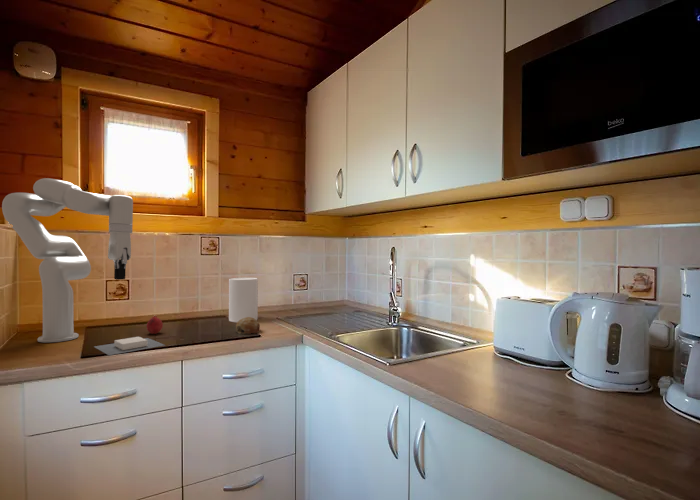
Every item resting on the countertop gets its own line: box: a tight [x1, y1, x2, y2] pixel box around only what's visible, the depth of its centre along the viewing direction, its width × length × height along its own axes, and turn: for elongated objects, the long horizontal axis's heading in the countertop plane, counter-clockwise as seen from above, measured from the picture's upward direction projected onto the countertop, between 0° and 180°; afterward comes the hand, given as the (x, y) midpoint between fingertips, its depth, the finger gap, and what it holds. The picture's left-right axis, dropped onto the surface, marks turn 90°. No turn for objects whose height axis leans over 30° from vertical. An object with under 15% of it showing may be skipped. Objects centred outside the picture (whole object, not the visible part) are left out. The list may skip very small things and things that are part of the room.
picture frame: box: [114, 336, 148, 350], centre depth 139 cm, size 2×8×8 cm
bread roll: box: [235, 317, 261, 335], centre depth 167 cm, size 10×10×8 cm
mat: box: [93, 337, 165, 356], centre depth 140 cm, size 16×18×1 cm
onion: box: [146, 314, 164, 335], centre depth 160 cm, size 6×6×8 cm
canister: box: [228, 277, 259, 323], centre depth 194 cm, size 14×14×20 cm
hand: (119, 279), depth 146 cm, fingers closed
